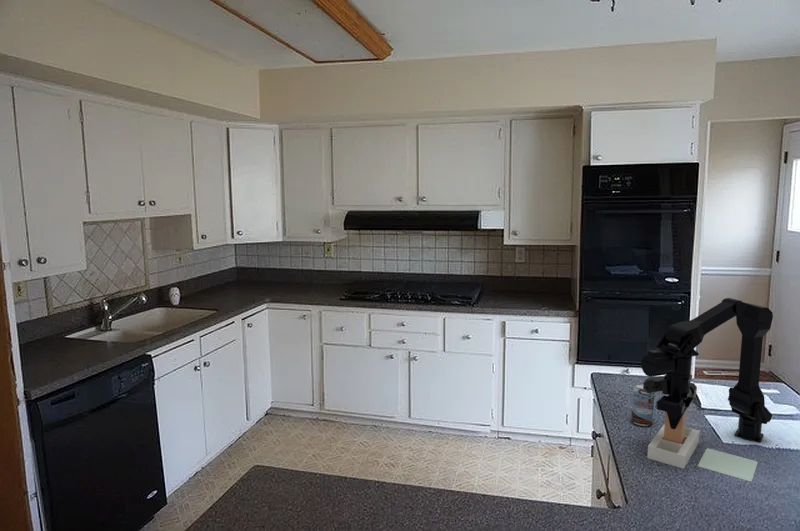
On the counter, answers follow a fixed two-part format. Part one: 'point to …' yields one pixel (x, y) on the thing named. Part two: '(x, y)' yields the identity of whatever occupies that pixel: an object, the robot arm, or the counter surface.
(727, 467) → the mat
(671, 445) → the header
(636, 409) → the beverage can
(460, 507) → the counter surface
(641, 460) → the counter surface
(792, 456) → the counter surface
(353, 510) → the counter surface
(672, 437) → the tan rectangular block
